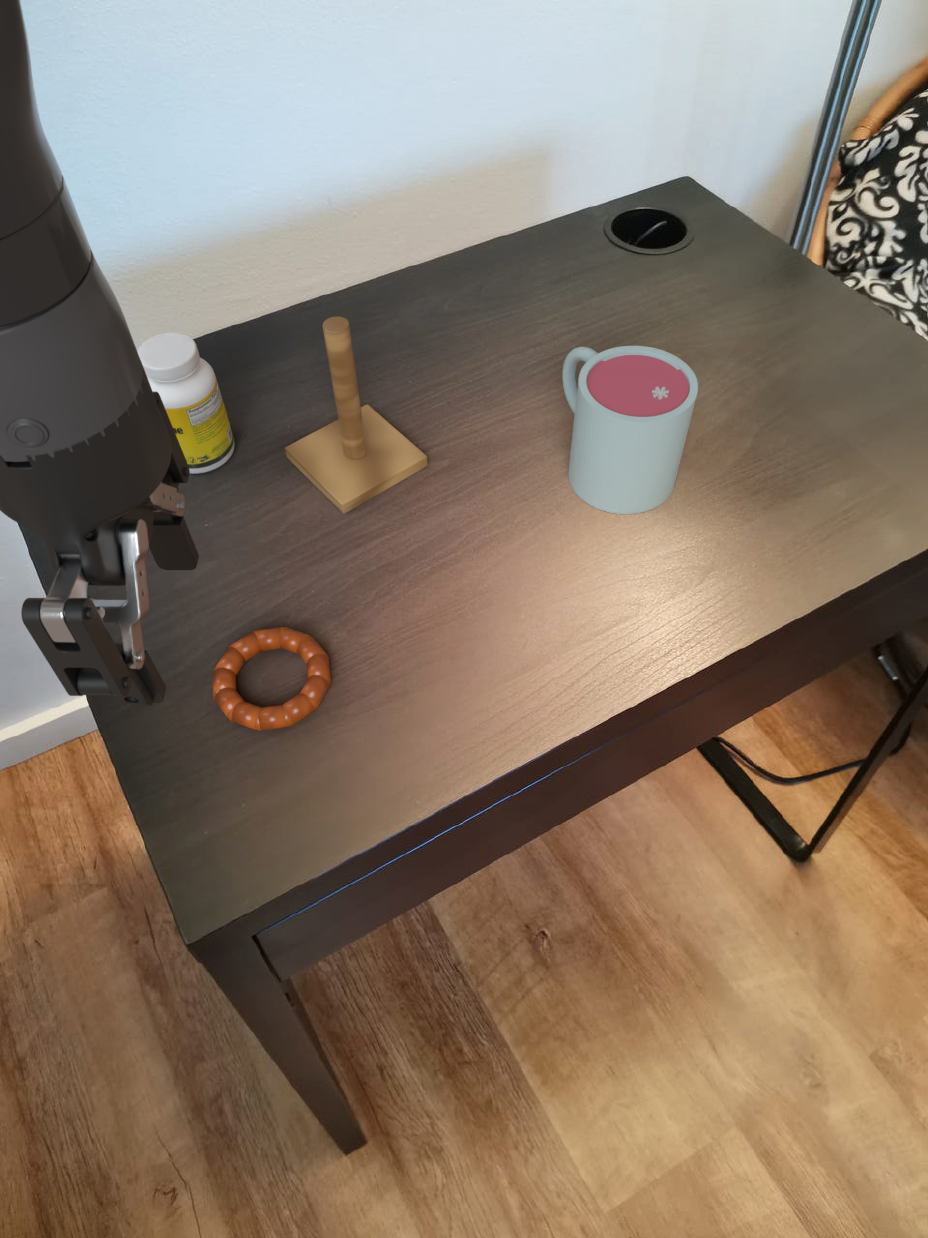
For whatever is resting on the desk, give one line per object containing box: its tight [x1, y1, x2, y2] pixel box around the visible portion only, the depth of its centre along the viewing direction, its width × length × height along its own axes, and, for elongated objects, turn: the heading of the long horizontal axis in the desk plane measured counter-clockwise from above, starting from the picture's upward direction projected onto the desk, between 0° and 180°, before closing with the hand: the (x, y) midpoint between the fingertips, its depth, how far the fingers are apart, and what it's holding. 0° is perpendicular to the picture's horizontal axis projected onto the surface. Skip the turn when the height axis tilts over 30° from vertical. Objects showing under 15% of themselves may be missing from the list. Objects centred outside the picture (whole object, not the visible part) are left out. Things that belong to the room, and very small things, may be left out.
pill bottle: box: [137, 332, 235, 475], centre depth 75 cm, size 6×6×11 cm
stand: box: [284, 316, 429, 515], centre depth 72 cm, size 9×9×14 cm
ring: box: [212, 626, 332, 732], centre depth 64 cm, size 8×8×2 cm
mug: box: [561, 345, 699, 515], centre depth 74 cm, size 14×9×10 cm
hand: (163, 628), depth 47 cm, fingers open, 8 cm apart
